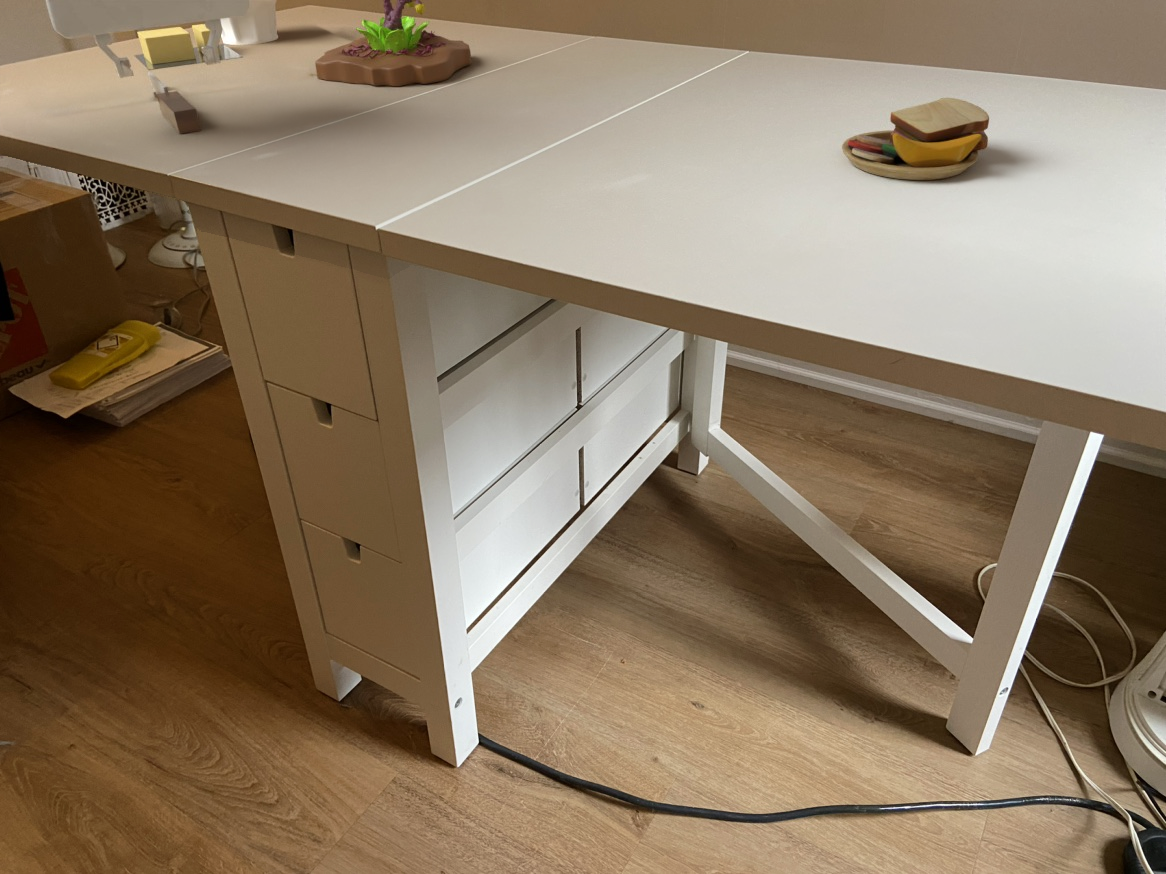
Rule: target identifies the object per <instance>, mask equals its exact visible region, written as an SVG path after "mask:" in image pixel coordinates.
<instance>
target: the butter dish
mask: <svg viewBox="0 0 1166 874" xmlns="http://www.w3.org/2000/svg"><path fill="white" fill-rule="evenodd" d="M219 48H220V52H221V56H219V57H220V61H227V60H228V61H229V60H233V59H234V60H235V59H241V58H243V56H242V54H241V55H240V53H238V52H237V51H235V50H233V49H232V48H230V47H228V45H226V44H225V43H219ZM193 49H194V53H195V57H196V59H192V60H185V61H177V62H170V63H162V64H155V65H152V64H151V63H150V62H149V61H148V60H147V59H146V58H145V57H144V54H143V53H142V54H140V53H139V54H134V55H133V56H134V57H135V58H136V59H137V60H138V61H139V62H140V63H141V64H142V65H143V66H144V67H145V68H146V69H147V70H148V71H153V70H160V69H168V68H169V69H170V68H177V67H182V66H183V67H184V66H190V65H197V64H198V65H199V64H206V63H205V61H204V58H203V56H204V54H202V53H201V52H200V51H198V48H197V46H196V47H195V46H194V47H193Z"/></svg>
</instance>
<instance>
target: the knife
mask: <svg viewBox="0 0 1166 874" xmlns="http://www.w3.org/2000/svg"><path fill="white" fill-rule="evenodd" d="M147 74H148V77H149V81H150V84H151V88H152V90H153V91H154V92H153V95H154V98H155V99H157V102H158V106H159V109H160V112H161V115H162V116H163V117H164V118H165V119H166V120H167V122H168V123H169V124H170V125H171V127H173V129H175V131H177V133H178V134H179V135H182V134H189V133H194V132H200V131H202V126H201V122H200V119H199V116H198V112H197V108H195V106H193V105H192V104H191V103H190V102H189V101H188V100H187V99H186V98H185V97H184V96H183V95H182V94H181V93H180V92H179V91H177V90H176V91H175V90H174V91H169V90H168V86H166V85H165V84H164V82H162V81H161V80H160V79H159V78H158V77H157V76H156V75H155V74H154V72H152V71H148V72H147Z"/></svg>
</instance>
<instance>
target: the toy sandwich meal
mask: <svg viewBox="0 0 1166 874" xmlns="http://www.w3.org/2000/svg"><path fill="white" fill-rule="evenodd" d="M889 120H890V121H889V122H890V123H891V124H893V125H894V129H893V130H876V131H869V132H864V133H860V134H856V135H853V136H850V137H849V138H847V139H846V140H845V141H844V142H843V143H842V145H841V150H842V153H843V154H844V155H845V156H846V157H847V158H848V161H849V162H850V163H851V164H852V165H853V166H854V167H855V168H857V169H859V170H861V171H864V172H866V173H869V174H873V175H875V176H881V177H884V178H889V179H898V180H909V181H931V180H932V181H933V180H941V179H946V178H947V179H948V178H952V177H955V176H957V175H960V174H962V173H963V172H965V171H966V170H967V169H968V168H970V167H971V166H973V165H974V164H976V162H977V161H978V160H979V151H985V150H986V149H987V148H988V143H989V137H988V135H987V133H986V132H985V131H986V130H987V129H988V128H989V123H990V116H989V114H988V112H987V111H986V110H984V109H983V108H982V107H980V106H979V105H977V104H974V103H971V102H969V101H967V100H963V99H959V98H955V97H941V98H939V99H937V100H934V101H929V102H925V103H921V104H918V105H914V106H909V107H906V108H902V109H898V110H894V111H891V112H890V119H889Z"/></svg>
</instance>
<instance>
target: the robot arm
mask: <svg viewBox="0 0 1166 874" xmlns="http://www.w3.org/2000/svg"><path fill="white" fill-rule="evenodd" d="M44 2H45V5H46V9H47V12H48V16H49V19H50V22H51V25H52V28H53V29H54V31H55V32H56V33H57V34H59V35H61V37H63V38H65V39H68V40H69V39H78V38H85V37H93V39H94V41H95V44H96V45H97V46H98V47H99V49H101V51H102V52H104V54H106V56H107V57H108V58H109V59H110V60H111V61H112V62H113V65H114V68H115V71H116V74H117V76H118V78H119V79H125V78H129V77H134V76H135V75H134V71H133V69H132V68H131V67H132V65H131V61H130V59H129V58H128V57H127V56H123V57H119V56H118V55H117V54H116V53H115V52H114V51H113V50H112V49H111V48H110V47H109V46H111V45H113V41H112V39H111V35H110V34H115V33H116V34H117V33H123V32H124V33H125V32H129V31H130V32H131V31H138V30H147V29H154V28H160V27H161V28H162V27H170V26H177V25H183V24H184V25H185V24H191V23H192V24H193V23H200V22H204V23H203V24H205V26H206V28H207V29H209V30H211V32H210V36H209V40H208V44H207V46H201V51H202V53H203V54H204V56H203V58H204V61H205V63H204V64H206V65H207V66H210V65H216V64H221V60H220V57H219V53H218V50H217V47H218V45H219V44H220V41H221V39H222V37H221V34H222V31H223V29H222V25H221V21H220V19H223V18H231V17H239V16H244V15H246V13H247V11H248V9H249V6H250V4H249V0H45V1H44Z"/></svg>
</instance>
